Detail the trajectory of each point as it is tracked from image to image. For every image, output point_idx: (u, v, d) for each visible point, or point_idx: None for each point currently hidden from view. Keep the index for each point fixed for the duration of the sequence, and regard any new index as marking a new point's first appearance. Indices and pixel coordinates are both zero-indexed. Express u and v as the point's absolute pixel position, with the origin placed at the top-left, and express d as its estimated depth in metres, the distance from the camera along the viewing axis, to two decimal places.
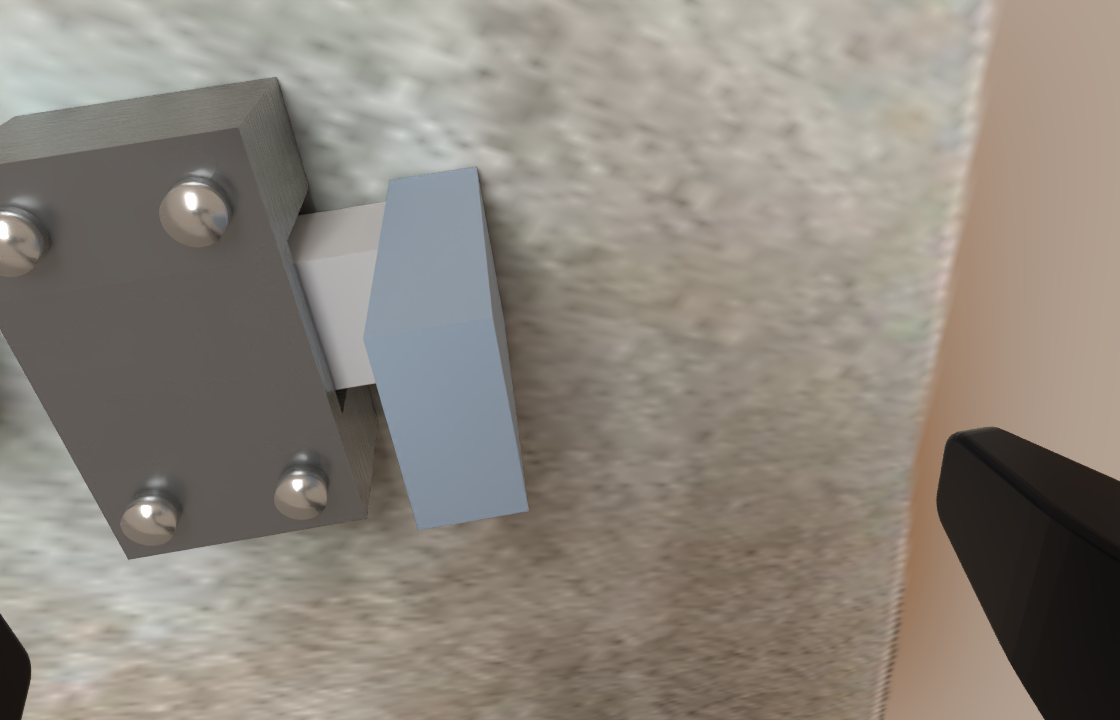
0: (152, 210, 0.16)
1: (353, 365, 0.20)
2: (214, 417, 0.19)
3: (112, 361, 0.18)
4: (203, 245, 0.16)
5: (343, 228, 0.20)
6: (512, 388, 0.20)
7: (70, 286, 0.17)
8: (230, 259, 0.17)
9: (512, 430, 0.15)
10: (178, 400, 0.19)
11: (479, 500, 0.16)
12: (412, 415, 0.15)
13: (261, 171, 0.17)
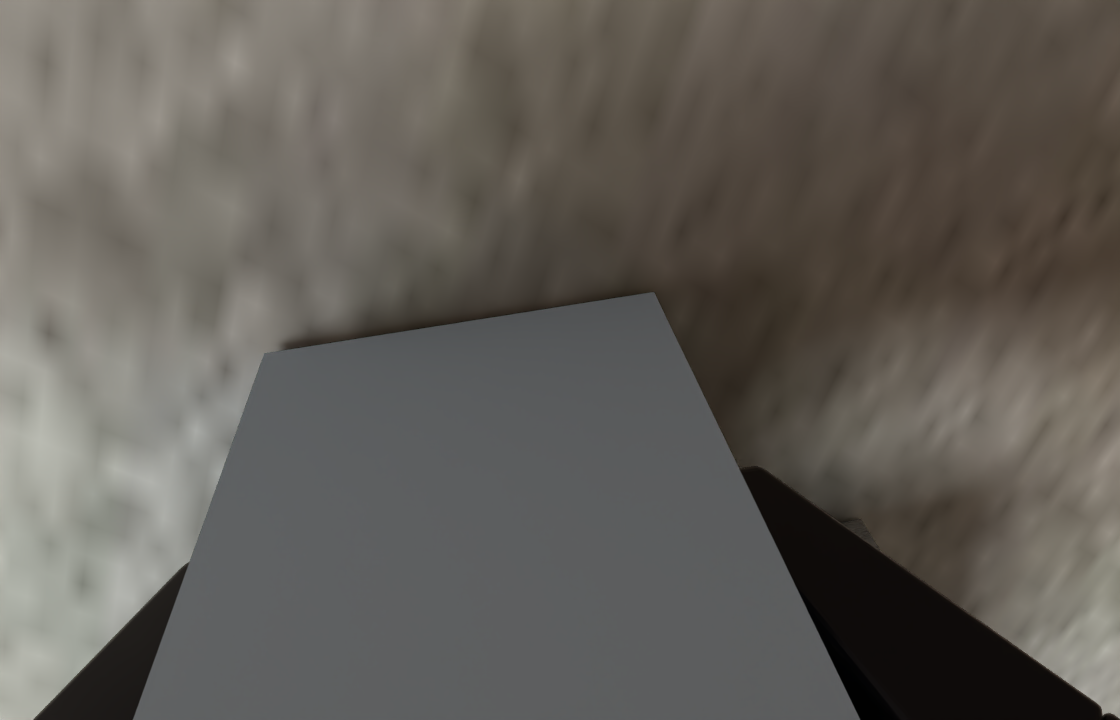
0: None
1: None
2: None
3: None
4: None
5: None
6: (733, 549, 0.06)
7: None
8: None
9: None
10: None
11: None
12: None
13: None
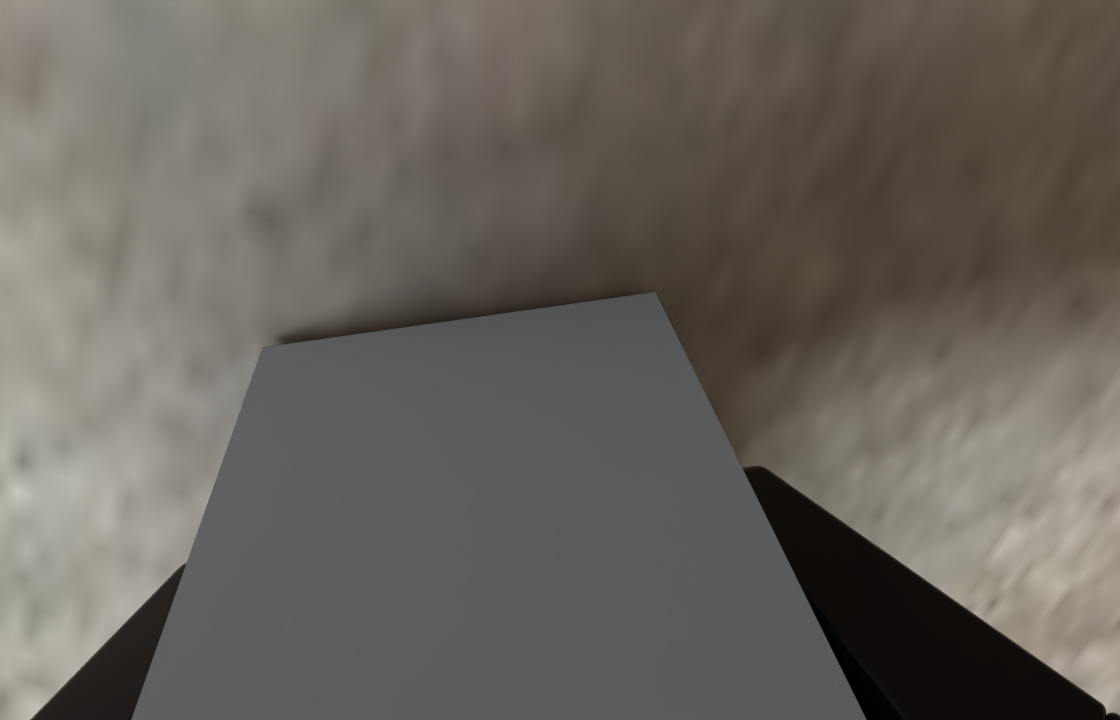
0: None
1: None
2: None
3: None
4: None
5: None
6: (739, 551, 0.06)
7: None
8: None
9: None
10: None
11: None
12: None
13: None
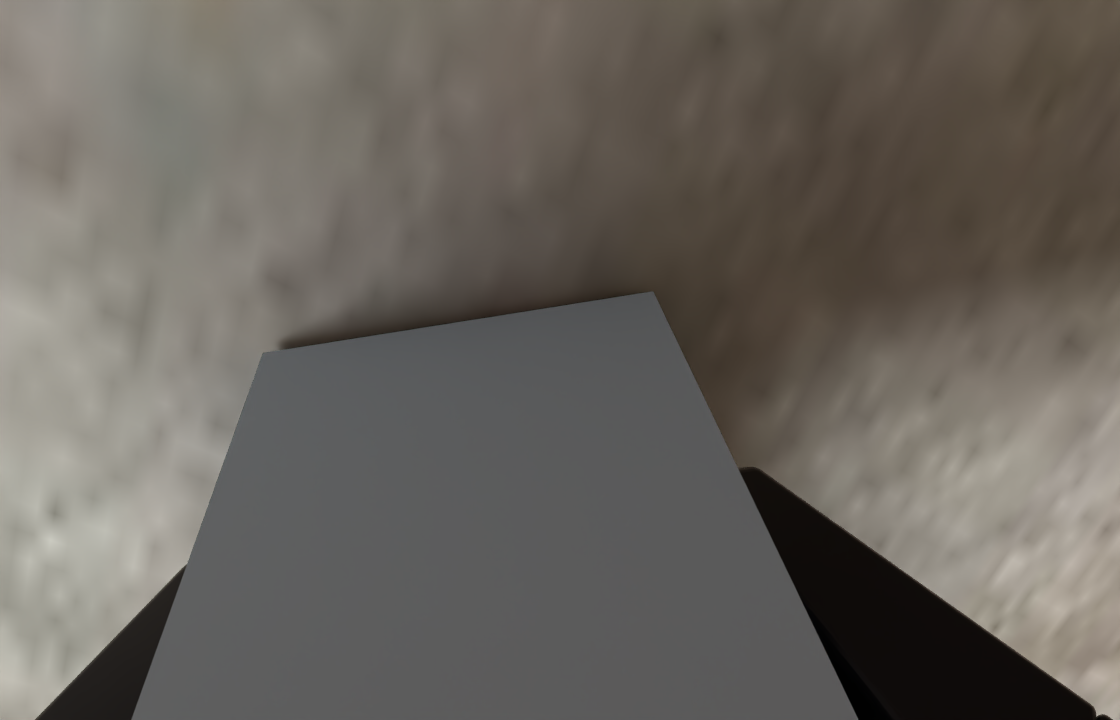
0: None
1: None
2: None
3: None
4: None
5: None
6: (732, 551, 0.06)
7: None
8: None
9: None
10: None
11: None
12: None
13: None
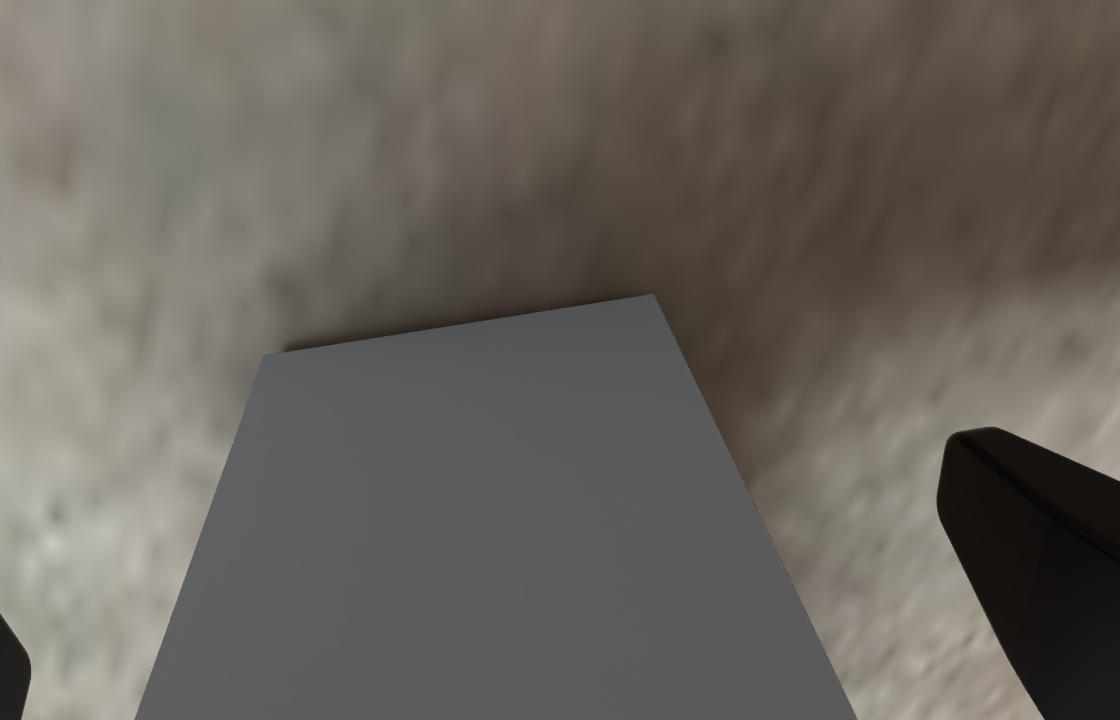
0: None
1: None
2: None
3: None
4: None
5: None
6: (733, 553, 0.06)
7: None
8: None
9: None
10: None
11: None
12: None
13: None
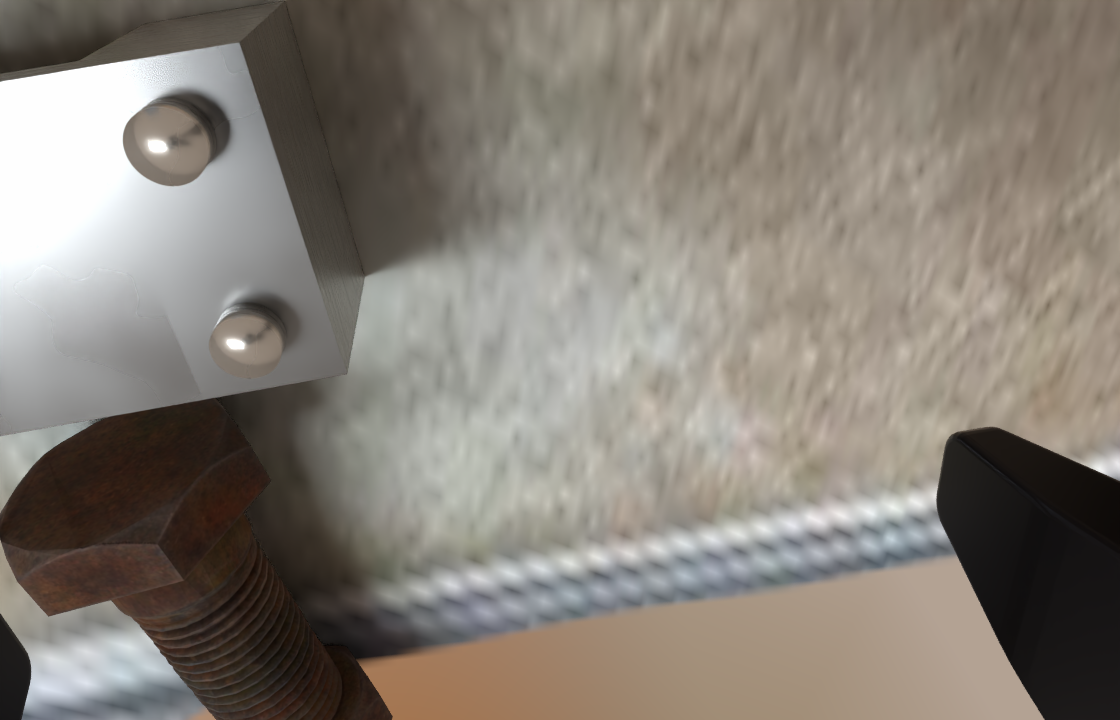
0: None
1: None
2: (68, 242, 0.14)
3: (2, 343, 0.14)
4: None
5: None
6: None
7: None
8: None
9: None
10: (48, 281, 0.14)
11: None
12: None
13: None
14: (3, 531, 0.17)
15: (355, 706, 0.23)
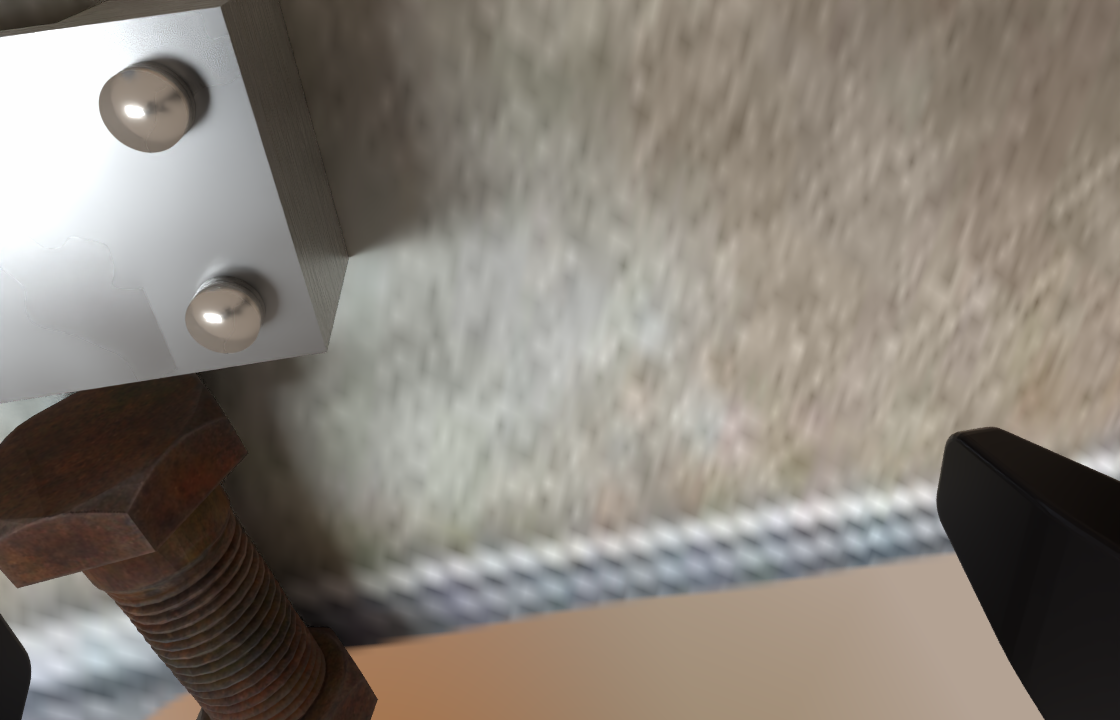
0: None
1: None
2: (42, 209, 0.13)
3: None
4: None
5: None
6: None
7: None
8: None
9: None
10: (21, 249, 0.14)
11: None
12: None
13: None
14: None
15: (338, 687, 0.23)
